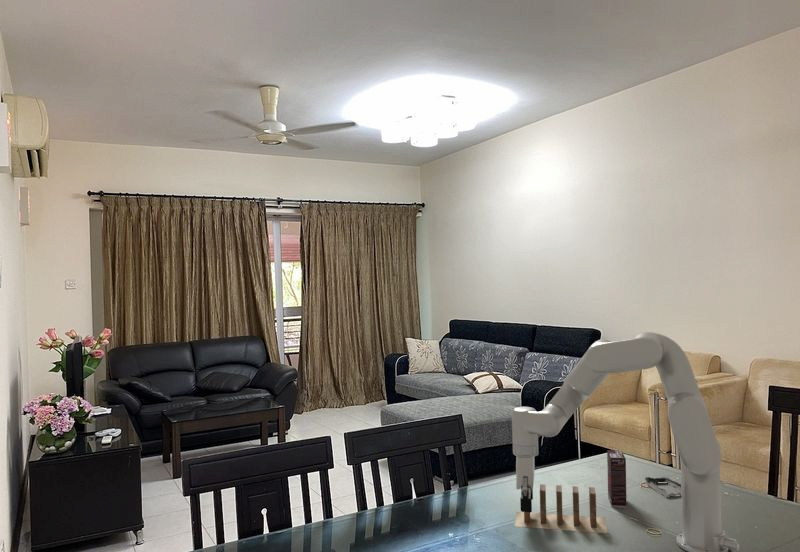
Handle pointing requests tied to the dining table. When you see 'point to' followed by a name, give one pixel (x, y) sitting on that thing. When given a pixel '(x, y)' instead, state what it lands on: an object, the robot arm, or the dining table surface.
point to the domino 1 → (527, 515)
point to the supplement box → (616, 478)
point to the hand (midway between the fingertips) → (526, 505)
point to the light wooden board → (567, 523)
